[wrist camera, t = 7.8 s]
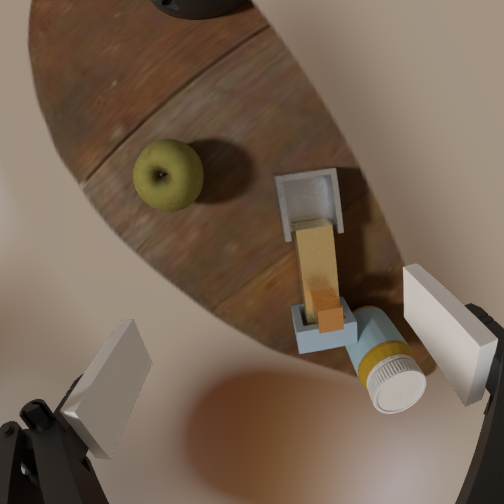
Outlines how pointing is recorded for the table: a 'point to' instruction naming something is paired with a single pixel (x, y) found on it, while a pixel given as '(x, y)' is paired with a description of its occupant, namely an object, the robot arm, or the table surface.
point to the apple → (168, 175)
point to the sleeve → (308, 198)
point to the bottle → (385, 362)
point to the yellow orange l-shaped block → (318, 274)
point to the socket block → (315, 341)
